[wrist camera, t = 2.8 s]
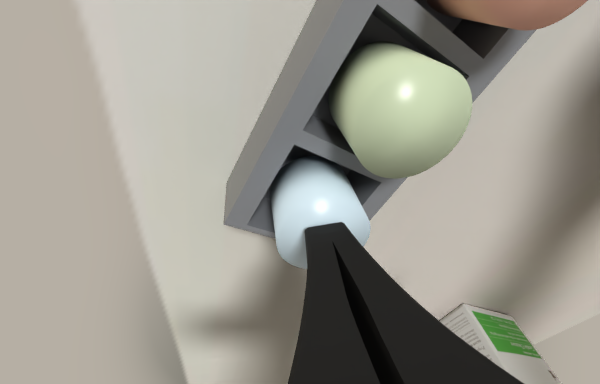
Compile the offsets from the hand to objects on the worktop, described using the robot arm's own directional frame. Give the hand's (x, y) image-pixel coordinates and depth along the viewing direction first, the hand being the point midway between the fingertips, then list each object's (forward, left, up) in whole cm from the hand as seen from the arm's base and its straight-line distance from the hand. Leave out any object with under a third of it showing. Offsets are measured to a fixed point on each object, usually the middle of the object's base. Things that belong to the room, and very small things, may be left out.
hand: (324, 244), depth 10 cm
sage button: (0, -5, -3) cm, 6 cm away
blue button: (0, 0, -3) cm, 3 cm away
